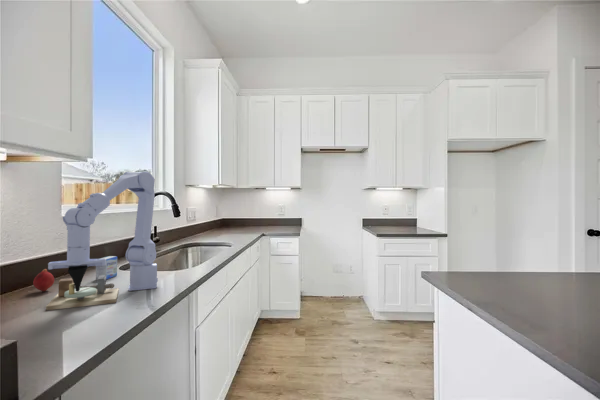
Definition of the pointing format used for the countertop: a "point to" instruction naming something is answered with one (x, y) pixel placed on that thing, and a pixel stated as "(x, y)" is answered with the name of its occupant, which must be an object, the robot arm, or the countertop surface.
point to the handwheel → (79, 292)
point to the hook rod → (65, 287)
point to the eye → (101, 284)
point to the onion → (43, 280)
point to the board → (84, 300)
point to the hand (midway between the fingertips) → (77, 290)
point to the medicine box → (107, 268)
